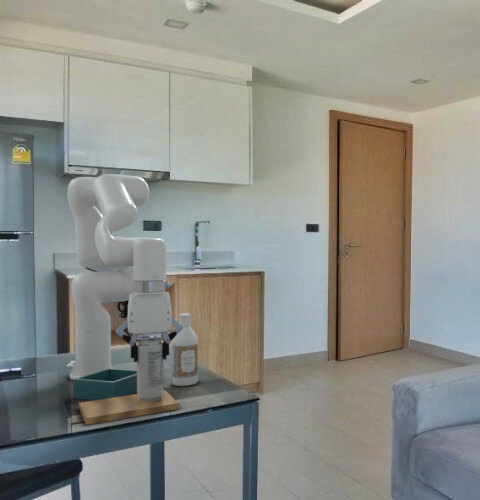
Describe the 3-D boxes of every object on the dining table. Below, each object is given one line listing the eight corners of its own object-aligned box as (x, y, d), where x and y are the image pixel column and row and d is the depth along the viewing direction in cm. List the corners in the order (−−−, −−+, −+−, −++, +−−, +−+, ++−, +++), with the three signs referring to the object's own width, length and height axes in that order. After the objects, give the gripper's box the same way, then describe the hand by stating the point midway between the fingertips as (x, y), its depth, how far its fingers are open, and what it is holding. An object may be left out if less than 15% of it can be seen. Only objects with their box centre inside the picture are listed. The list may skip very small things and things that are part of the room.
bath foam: (175, 388, 148) (175, 316, 148) (169, 382, 154) (169, 313, 153) (200, 384, 152) (200, 314, 151) (194, 379, 158) (194, 312, 157)
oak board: (86, 424, 118) (85, 418, 118) (78, 408, 129) (78, 402, 129) (178, 408, 129) (179, 402, 129) (164, 395, 141) (164, 389, 141)
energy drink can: (152, 394, 137) (152, 335, 136) (168, 397, 133) (168, 338, 133) (131, 400, 131) (131, 339, 131) (147, 404, 128) (147, 342, 128)
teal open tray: (73, 398, 138) (73, 379, 138) (109, 385, 150) (109, 368, 150) (113, 402, 135) (113, 382, 135) (147, 388, 147) (147, 370, 147)
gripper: (185, 285, 139) (185, 354, 139) (111, 287, 132) (111, 360, 132) (187, 287, 132) (188, 359, 132) (110, 290, 125) (110, 366, 125)
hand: (150, 359), depth 132 cm, fingers closed on energy drink can, 6 cm apart
